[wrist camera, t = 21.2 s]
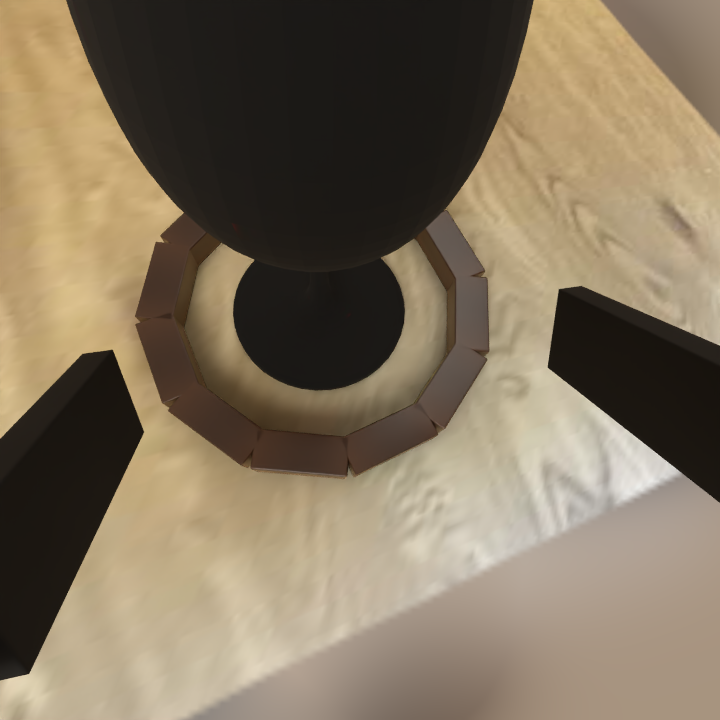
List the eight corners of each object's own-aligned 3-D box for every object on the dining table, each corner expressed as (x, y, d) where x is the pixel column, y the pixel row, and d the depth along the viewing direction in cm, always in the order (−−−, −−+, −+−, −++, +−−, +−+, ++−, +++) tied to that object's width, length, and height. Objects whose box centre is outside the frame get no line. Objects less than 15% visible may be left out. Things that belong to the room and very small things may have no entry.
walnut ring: (481, 490, 23) (493, 489, 21) (113, 459, 22) (95, 456, 20) (476, 197, 29) (485, 178, 27) (191, 164, 28) (183, 142, 27)
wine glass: (291, 211, 28) (215, -413, 9) (432, 282, 27) (683, -247, 8) (197, 338, 24) (-246, -226, 6) (354, 424, 23) (466, 100, 5)
